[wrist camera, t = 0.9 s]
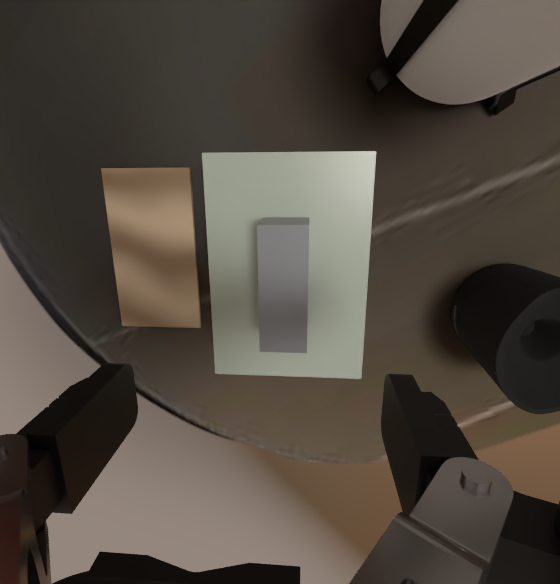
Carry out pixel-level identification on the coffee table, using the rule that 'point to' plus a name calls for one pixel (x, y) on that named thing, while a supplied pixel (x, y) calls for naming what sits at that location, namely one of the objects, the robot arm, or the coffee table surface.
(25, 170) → the coffee table surface
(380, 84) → the coffee press
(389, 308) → the coffee table surface
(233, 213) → the lid
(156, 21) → the coffee table surface
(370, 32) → the coffee table surface
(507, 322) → the pen holder
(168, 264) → the cork pad
